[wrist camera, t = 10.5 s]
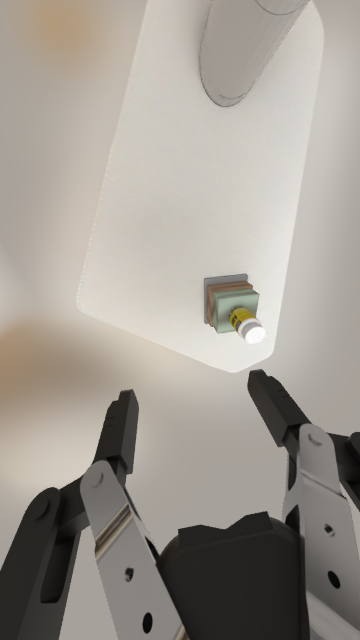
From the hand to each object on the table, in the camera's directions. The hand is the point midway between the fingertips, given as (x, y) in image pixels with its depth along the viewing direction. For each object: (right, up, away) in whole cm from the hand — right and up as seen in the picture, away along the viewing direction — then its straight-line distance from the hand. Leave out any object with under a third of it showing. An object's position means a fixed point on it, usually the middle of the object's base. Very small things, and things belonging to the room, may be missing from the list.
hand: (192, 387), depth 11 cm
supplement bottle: (+12, +6, +27) cm, 30 cm away
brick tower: (+11, +10, +35) cm, 38 cm away
